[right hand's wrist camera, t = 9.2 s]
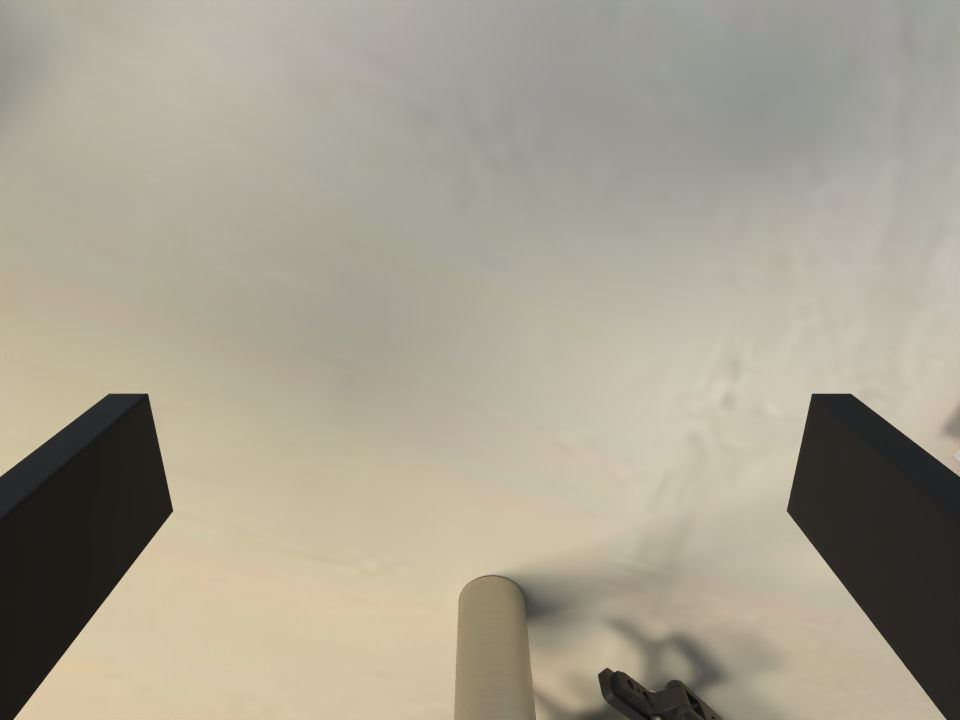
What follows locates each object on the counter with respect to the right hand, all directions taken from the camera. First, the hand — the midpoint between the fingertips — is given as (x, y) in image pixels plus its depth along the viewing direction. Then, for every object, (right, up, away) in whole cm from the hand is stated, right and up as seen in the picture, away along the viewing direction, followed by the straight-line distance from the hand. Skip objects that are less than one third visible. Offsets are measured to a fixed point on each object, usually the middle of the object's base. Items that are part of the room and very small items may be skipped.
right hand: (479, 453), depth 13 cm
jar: (+1, -16, +34) cm, 37 cm away
